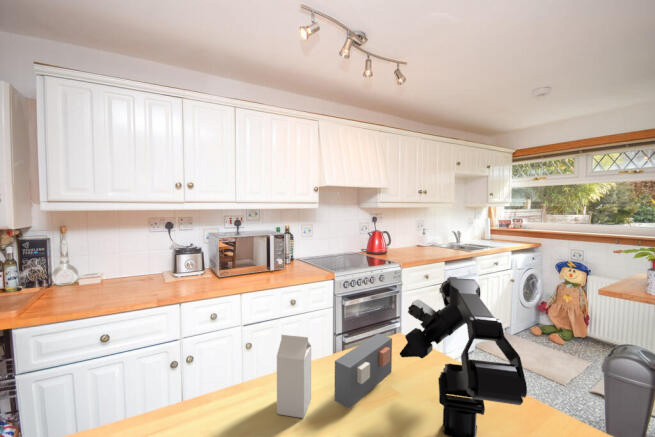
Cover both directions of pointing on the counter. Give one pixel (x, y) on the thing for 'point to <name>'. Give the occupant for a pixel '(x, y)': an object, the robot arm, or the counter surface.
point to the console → (346, 370)
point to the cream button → (363, 372)
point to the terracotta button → (384, 356)
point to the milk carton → (293, 376)
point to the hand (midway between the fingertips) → (408, 349)
